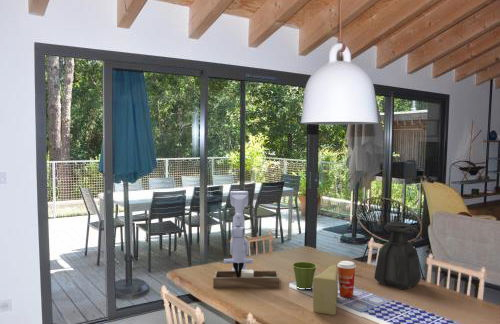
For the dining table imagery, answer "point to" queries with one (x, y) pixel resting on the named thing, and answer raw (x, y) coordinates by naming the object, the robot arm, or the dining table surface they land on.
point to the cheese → (325, 291)
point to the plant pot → (304, 274)
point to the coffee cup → (346, 278)
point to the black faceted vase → (398, 259)
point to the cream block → (247, 274)
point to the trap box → (246, 279)
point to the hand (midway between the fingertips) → (238, 277)
